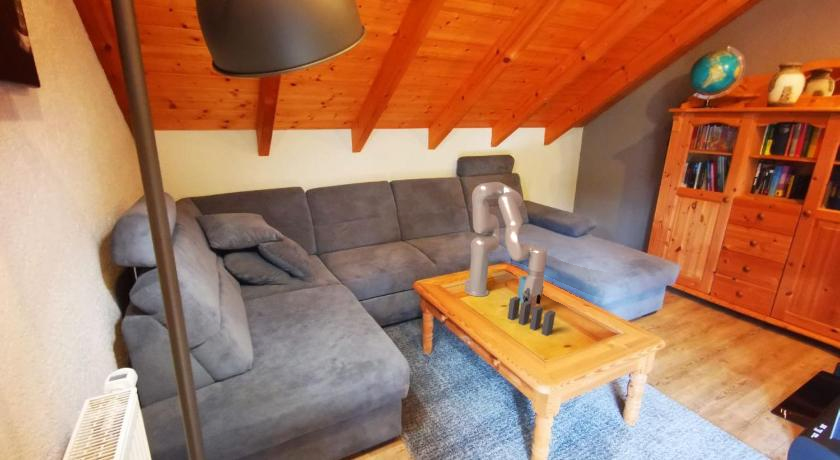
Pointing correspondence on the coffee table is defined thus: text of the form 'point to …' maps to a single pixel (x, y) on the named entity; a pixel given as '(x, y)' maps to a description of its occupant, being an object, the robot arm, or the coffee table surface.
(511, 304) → the domino
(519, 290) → the data package
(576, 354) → the coffee table surface
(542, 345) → the coffee table surface
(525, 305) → the domino
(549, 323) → the domino
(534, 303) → the domino
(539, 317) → the domino
